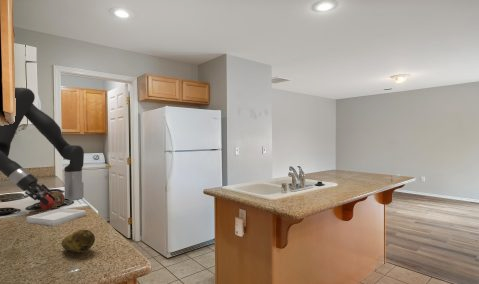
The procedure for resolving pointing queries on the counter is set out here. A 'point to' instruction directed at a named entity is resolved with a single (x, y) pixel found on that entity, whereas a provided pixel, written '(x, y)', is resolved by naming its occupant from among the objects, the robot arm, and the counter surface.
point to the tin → (57, 198)
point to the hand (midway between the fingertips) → (50, 201)
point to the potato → (79, 241)
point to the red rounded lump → (49, 205)
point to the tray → (56, 216)
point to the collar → (40, 211)
